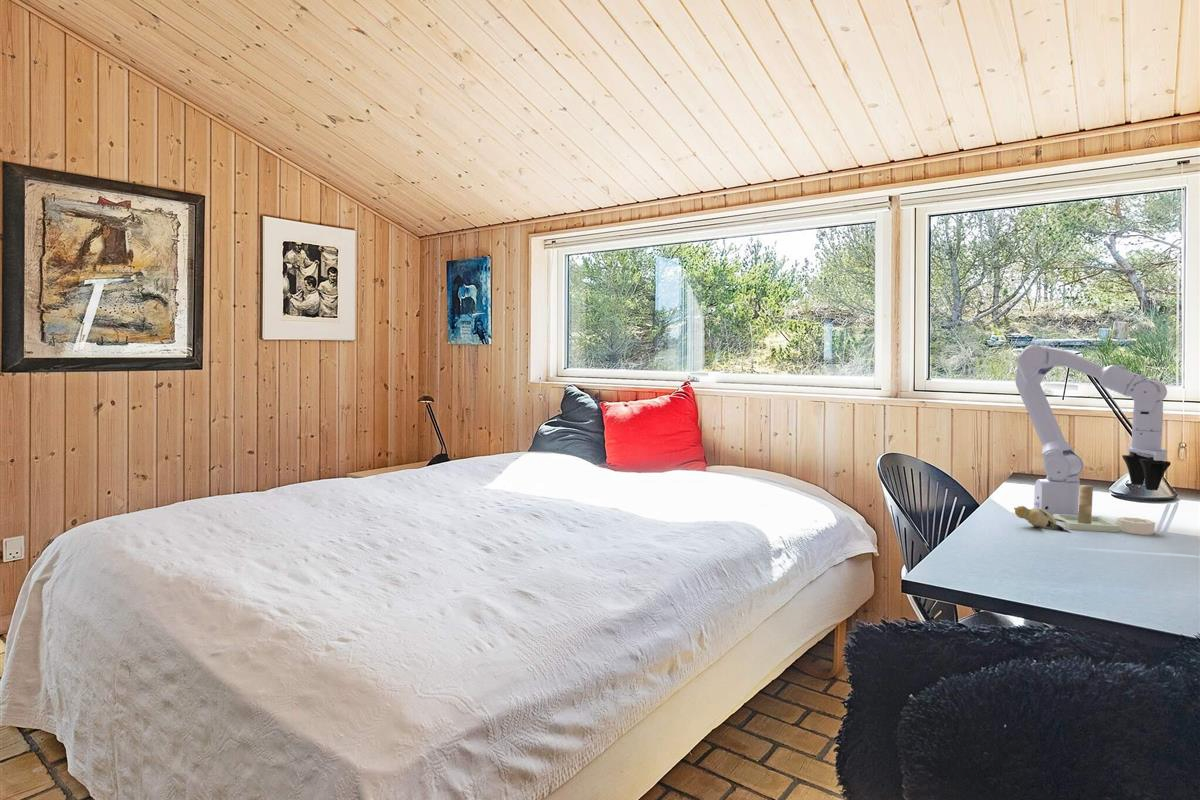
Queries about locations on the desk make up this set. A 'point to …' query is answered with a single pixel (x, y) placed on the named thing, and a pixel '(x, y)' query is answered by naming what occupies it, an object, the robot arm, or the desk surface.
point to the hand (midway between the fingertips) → (1144, 487)
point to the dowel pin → (1085, 504)
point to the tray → (1096, 524)
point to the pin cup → (1136, 525)
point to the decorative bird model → (1039, 518)
